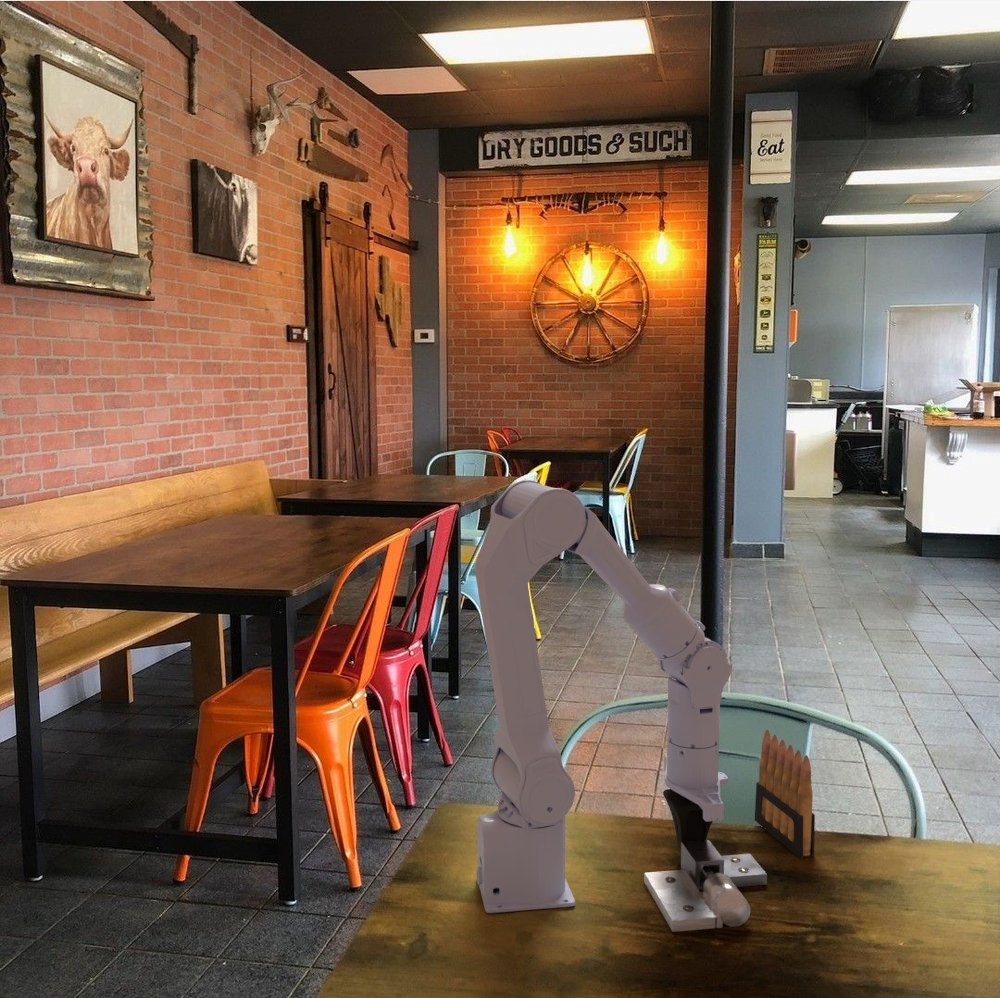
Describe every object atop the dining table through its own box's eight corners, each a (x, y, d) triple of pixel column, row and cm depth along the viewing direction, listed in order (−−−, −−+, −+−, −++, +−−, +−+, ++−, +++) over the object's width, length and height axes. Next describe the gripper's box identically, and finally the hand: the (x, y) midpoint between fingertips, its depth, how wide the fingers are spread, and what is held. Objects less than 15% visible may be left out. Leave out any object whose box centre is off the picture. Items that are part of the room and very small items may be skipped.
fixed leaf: (672, 932, 102) (673, 901, 102) (644, 883, 112) (644, 855, 111) (750, 925, 103) (750, 895, 103) (715, 877, 113) (715, 850, 113)
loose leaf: (695, 890, 110) (695, 862, 110) (680, 869, 115) (681, 841, 114) (766, 884, 111) (767, 856, 111) (749, 863, 116) (750, 836, 116)
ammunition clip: (814, 857, 118) (818, 757, 116) (800, 859, 117) (803, 759, 116) (767, 818, 128) (770, 726, 126) (754, 820, 127) (756, 727, 126)
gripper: (752, 761, 108) (748, 883, 110) (704, 716, 122) (702, 824, 124) (687, 765, 107) (685, 888, 109) (647, 719, 121) (646, 828, 123)
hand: (690, 855), depth 116 cm, fingers closed
